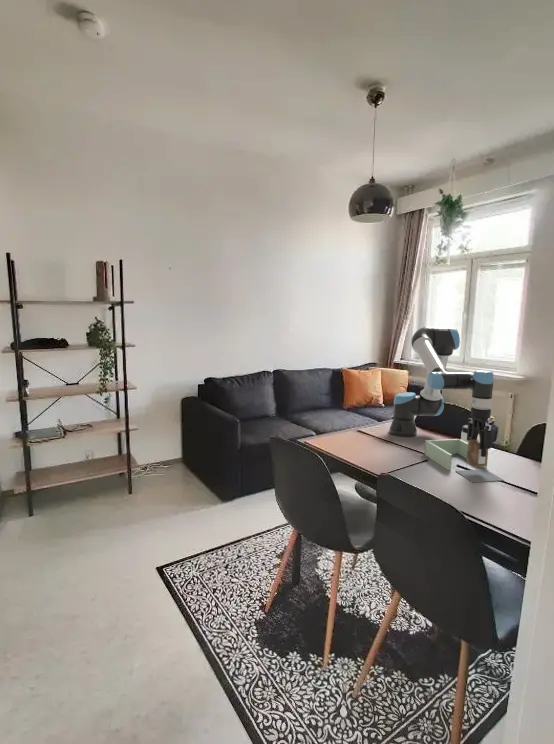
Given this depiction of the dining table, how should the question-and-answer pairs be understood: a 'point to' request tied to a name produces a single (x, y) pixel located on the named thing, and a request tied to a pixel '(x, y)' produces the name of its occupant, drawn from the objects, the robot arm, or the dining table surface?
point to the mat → (479, 476)
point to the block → (475, 453)
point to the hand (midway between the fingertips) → (476, 460)
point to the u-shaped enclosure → (445, 450)
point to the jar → (465, 433)
